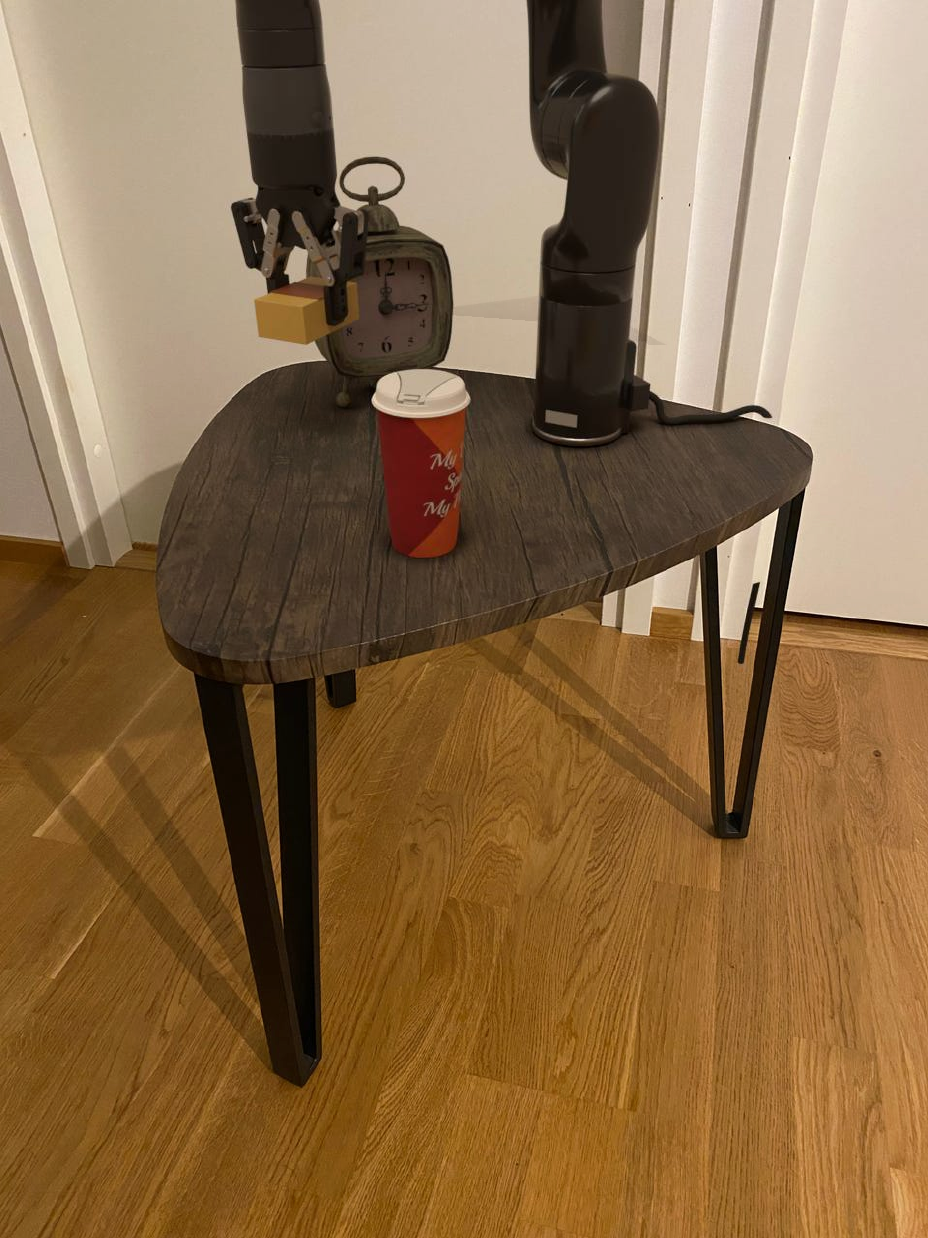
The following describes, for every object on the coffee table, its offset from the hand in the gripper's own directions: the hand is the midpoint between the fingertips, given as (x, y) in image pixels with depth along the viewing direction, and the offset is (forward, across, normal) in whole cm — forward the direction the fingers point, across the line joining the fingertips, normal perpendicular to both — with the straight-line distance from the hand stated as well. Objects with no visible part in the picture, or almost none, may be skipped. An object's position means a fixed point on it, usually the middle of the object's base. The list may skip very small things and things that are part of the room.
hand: (309, 318), depth 94 cm
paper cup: (+13, -20, +14) cm, 27 cm away
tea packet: (+1, 0, 0) cm, 1 cm away
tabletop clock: (+13, +2, -15) cm, 20 cm away
